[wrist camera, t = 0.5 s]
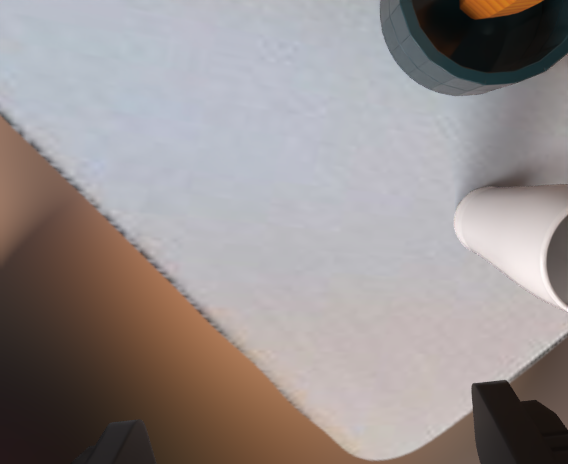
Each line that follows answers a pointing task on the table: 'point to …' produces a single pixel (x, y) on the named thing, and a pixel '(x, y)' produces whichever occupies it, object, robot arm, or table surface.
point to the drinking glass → (520, 235)
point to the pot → (472, 44)
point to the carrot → (494, 7)
